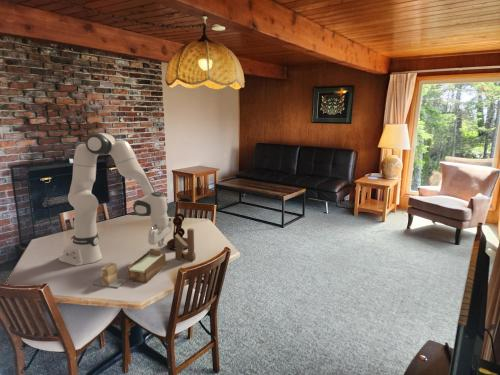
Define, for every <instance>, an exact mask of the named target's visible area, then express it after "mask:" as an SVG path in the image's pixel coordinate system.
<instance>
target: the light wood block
mask: <svg viewBox="0 0 500 375" xmlns="http://www.w3.org/2000/svg"><path fill="white" fill-rule="evenodd" d="M117 266H118V265H117V263H114V262H109V263H108V264H106V265H104V267H102V268H101V269H100V272H101V273H100V274H101V278H102V285H108V286H109V285H110V284H112V283H113V282H114V281H115V280H117V279H119V277H118V269H117Z"/></svg>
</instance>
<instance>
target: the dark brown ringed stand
mask: <svg viewBox="0 0 500 375" xmlns="http://www.w3.org/2000/svg"><path fill="white" fill-rule="evenodd" d="M184 221H185V215H184V214H183V213H180V212H179V213H177V214H175V215H174V218H172V223H173V233H172V237H173V238H171V239H169V240H168V241H167V242H166V246H167V247H168V248H169V250H171V249H173V250H175V235H176V234H178V235H179V236H180V237H181V238H182V239H183V240H184V241H185V242H186V243H187V244H188V241H187V237H184V235H185V234H186V233H185V229H184V228H183V227H182V226H183V222H184ZM184 249H185V250H187V249H186V248H184Z"/></svg>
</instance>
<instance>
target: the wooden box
mask: <svg viewBox="0 0 500 375" xmlns="http://www.w3.org/2000/svg"><path fill="white" fill-rule="evenodd" d="M149 253H150V251H147V252H145V253H144V254H143V255H142V256H140V257H139V258H138V259H137V260H135V261H134V262H133V263H131V264H130V265H128V267H127V278H128V281H131V282H137V283H145V284H147V283H148V282H150V280H152V279H153V278H154V277H155V276H156V275H157V274H158V273H159V272H160V271H162V270H163V269H164V268H165V267H166V266H167V263H166V262H167V261H166V260H167V259H166V253H165V252H164V253H163V255H162V256H161V257H159V258H158V259H157V260H156V261H155V262H154V263H152V264H151V265H150V266H149V267H148V268H147V269H145V273H141V272H134V271H129V269H130V268H131V267H133V266H134V265H135V264H136V263H138V262H139V261H140V260H141V259H143V258H144V257H145V256H147V255H148V254H149Z"/></svg>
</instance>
